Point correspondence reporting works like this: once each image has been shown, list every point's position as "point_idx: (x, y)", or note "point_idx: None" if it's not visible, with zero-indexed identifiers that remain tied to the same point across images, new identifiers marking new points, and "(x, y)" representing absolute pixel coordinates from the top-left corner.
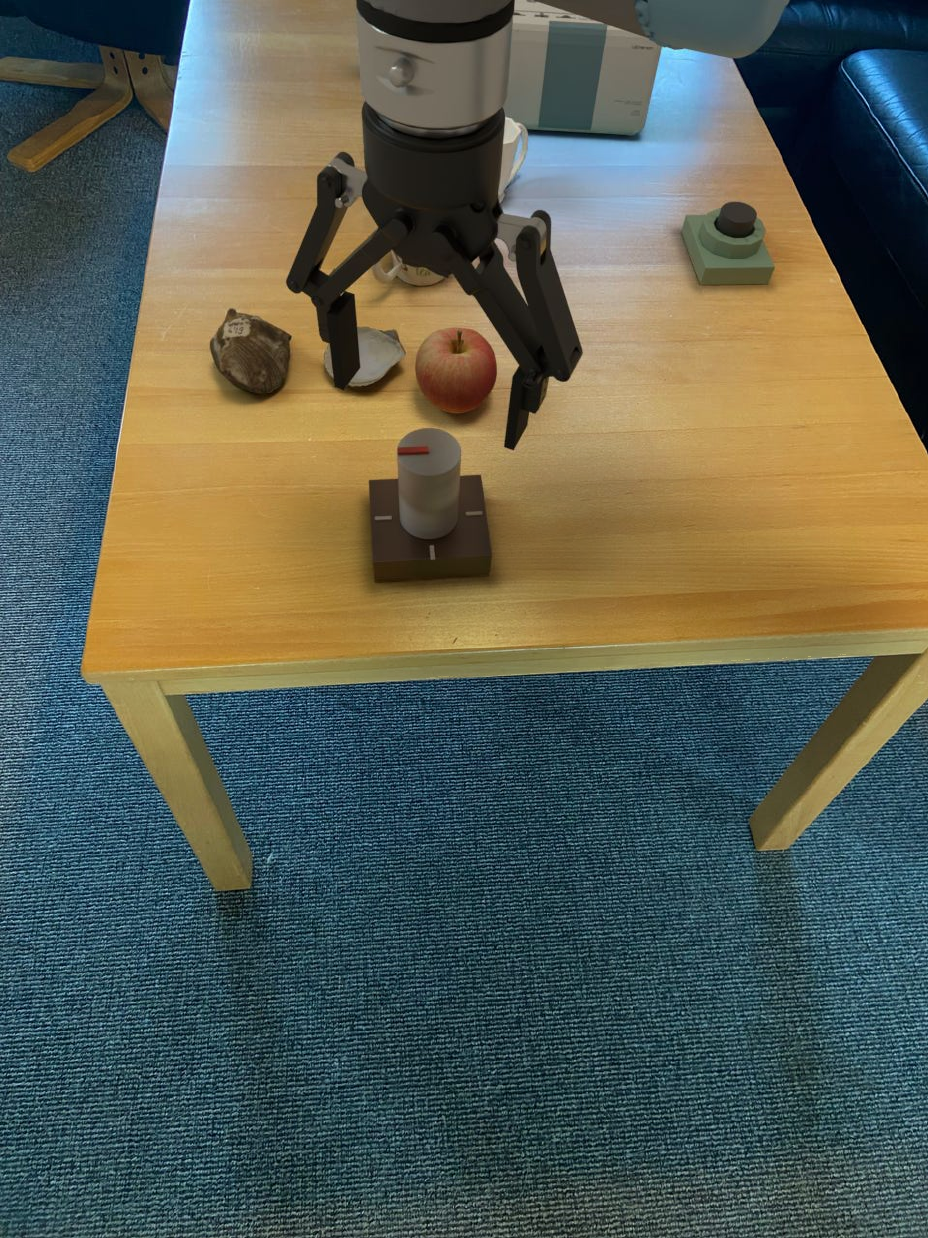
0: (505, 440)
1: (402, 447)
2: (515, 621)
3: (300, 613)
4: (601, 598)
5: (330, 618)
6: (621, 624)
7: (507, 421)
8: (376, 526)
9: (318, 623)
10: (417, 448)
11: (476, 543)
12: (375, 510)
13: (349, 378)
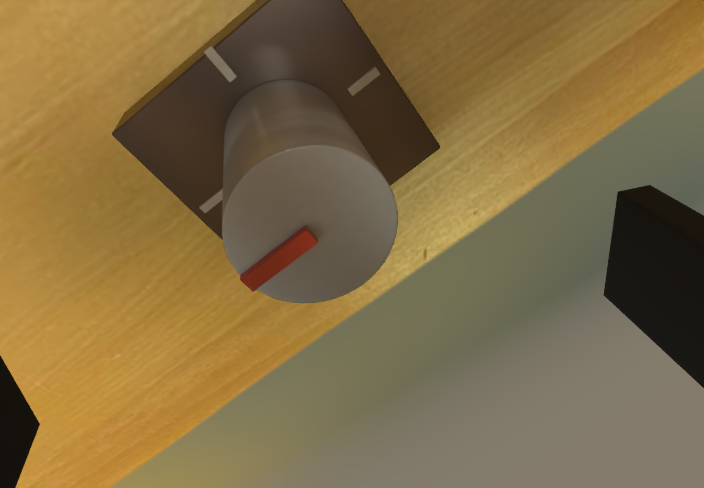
0: (625, 313)
1: (251, 272)
2: (492, 176)
3: (205, 347)
4: (607, 54)
5: (248, 328)
6: (647, 82)
7: (680, 364)
8: (216, 220)
9: (239, 343)
10: (287, 252)
11: (402, 141)
12: (187, 192)
13: (14, 401)
